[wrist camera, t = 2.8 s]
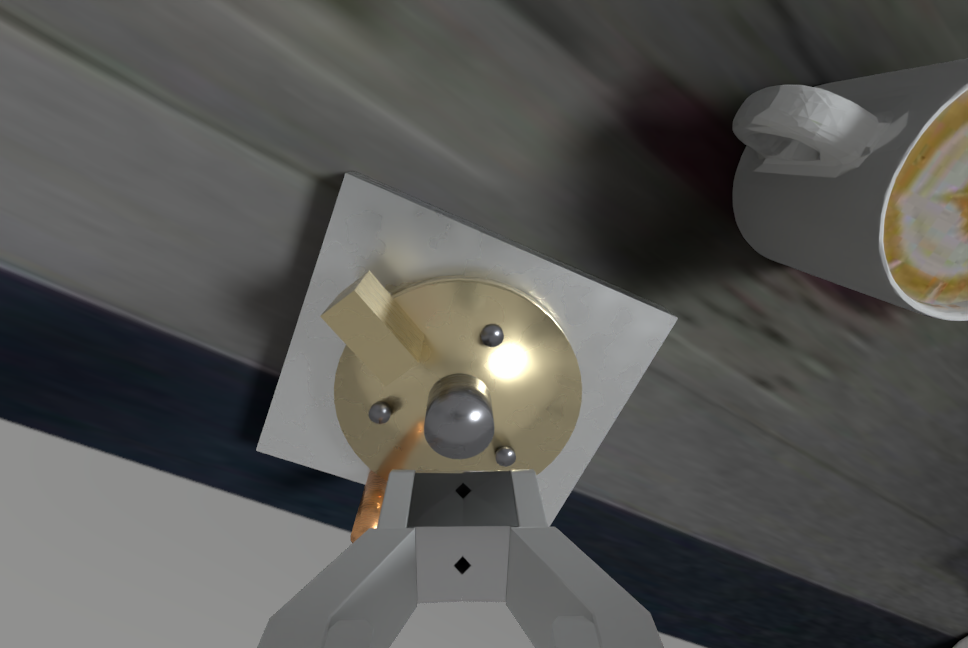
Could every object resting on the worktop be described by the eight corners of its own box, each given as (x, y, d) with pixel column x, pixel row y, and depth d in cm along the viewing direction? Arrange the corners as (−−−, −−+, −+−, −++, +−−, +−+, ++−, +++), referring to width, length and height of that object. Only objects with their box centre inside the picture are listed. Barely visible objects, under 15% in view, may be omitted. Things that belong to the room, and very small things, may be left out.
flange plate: (618, 407, 28) (649, 457, 24) (439, 518, 31) (435, 584, 26) (464, 194, 24) (465, 205, 19) (266, 346, 26) (223, 389, 21)
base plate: (268, 432, 31) (216, 508, 24) (354, 171, 25) (316, 179, 19) (537, 518, 34) (554, 605, 28) (663, 306, 29) (723, 353, 22)
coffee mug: (941, 157, 26) (1205, 162, 17) (807, 294, 29) (972, 364, 20) (787, -8, 23) (1008, -113, 14) (652, 164, 26) (761, 173, 16)
